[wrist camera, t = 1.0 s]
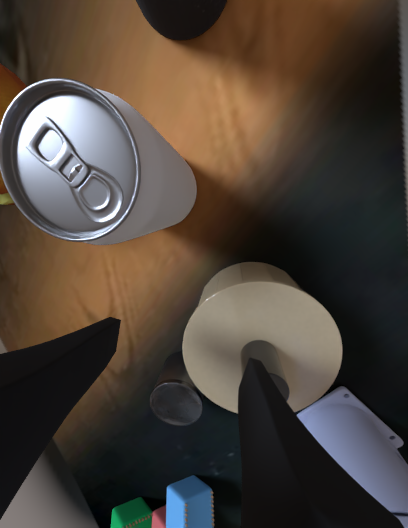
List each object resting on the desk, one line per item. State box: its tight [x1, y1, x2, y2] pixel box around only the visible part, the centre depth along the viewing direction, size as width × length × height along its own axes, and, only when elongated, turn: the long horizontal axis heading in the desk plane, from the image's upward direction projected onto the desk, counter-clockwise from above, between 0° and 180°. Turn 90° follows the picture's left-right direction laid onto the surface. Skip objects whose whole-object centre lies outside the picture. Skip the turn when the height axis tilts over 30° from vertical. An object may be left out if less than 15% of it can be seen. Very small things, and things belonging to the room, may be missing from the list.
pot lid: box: [183, 279, 342, 413], centre depth 14 cm, size 11×11×4 cm
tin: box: [150, 352, 204, 426], centre depth 22 cm, size 5×5×4 cm
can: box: [0, 78, 197, 245], centre depth 14 cm, size 6×6×12 cm
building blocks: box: [111, 475, 215, 528], centre depth 26 cm, size 8×8×12 cm
